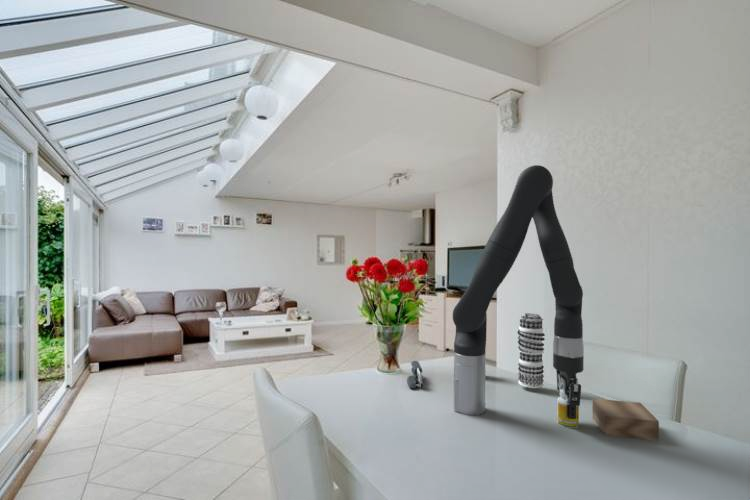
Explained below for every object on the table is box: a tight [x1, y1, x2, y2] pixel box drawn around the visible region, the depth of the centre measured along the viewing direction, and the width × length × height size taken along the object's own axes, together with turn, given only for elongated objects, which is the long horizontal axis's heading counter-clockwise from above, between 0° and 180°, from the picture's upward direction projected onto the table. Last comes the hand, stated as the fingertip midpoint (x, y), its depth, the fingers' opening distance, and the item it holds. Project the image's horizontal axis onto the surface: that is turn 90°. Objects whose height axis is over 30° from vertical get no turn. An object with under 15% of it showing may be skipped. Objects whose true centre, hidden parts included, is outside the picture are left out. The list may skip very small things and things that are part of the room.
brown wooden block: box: [592, 398, 660, 442], centre depth 106 cm, size 12×12×6 cm
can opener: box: [406, 360, 426, 389], centre depth 147 cm, size 19×6×5 cm, turn 177°
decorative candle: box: [516, 312, 546, 389], centre depth 142 cm, size 9×9×25 cm
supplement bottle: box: [556, 389, 580, 429], centre depth 109 cm, size 5×5×10 cm
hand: (567, 413), depth 109 cm, fingers closed on supplement bottle, 5 cm apart
